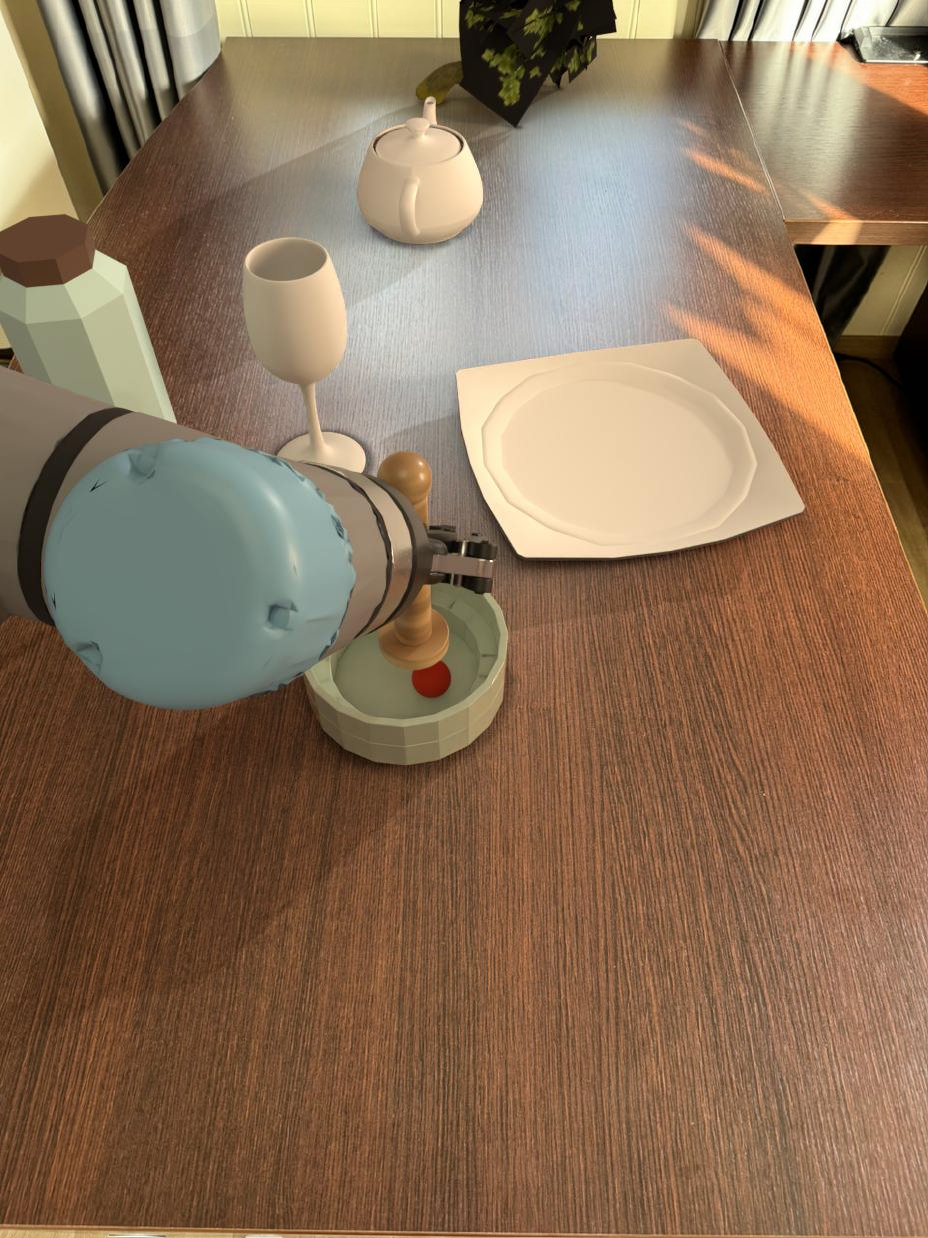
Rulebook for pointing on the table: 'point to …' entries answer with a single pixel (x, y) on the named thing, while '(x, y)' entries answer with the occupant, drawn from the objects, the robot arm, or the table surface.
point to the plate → (619, 453)
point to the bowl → (389, 704)
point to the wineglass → (299, 334)
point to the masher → (420, 627)
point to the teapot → (419, 181)
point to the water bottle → (77, 316)
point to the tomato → (432, 680)
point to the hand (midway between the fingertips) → (424, 541)
